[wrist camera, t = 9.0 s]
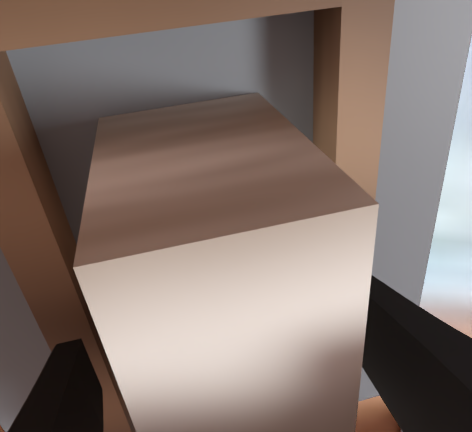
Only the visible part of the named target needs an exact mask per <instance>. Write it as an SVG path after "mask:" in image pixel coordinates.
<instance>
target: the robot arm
mask: <svg viewBox="0 0 472 432" xmlns="http://www.w3.org/2000/svg"><path fill="white" fill-rule="evenodd" d="M362 368H363V369H364V371H365V372H366V374H367V376H368V377H369V379H370V380H371V382H372V384H373V385H374V387H375V389H376V390H377V392H378V393H379V395H380V396H381V398H382V400H383V401H384V403H385V404H386V406H387V408H388V409H389V411H390V412H391V414H392V415H393V417H394V419H395V420H396V422H397V423H398V425H399V427H400V428H401V432H472V338H470V337H469V336H467V335H465V334H463V333H462V332H460V331H458V330H456V329H455V328H453V327H451V326H450V325H448V324H446V323H445V322H443V321H441V320H440V319H438V318H436V317H435V316H433V315H432V314H430V313H428V312H427V311H425V310H424V309H422V308H421V307H419V306H418V305H416V304H415V303H413V302H411V301H410V300H408V299H407V298H405V297H404V296H402V295H401V294H399V293H398V292H396V291H395V290H394V289H392V288H391V287H389V286H388V285H386V284H385V283H383V282H382V281H380V280H379V279H377V278H376V277H374V276H373V275H371V285H370V294H369V304H368V313H367V323H366V333H365V342H364V352H363V361H362ZM103 430H104V424H103V389H102V387H101V384H100V382H99V380H98V377H97V375H96V372H95V370H94V368H93V365H92V363H91V361H90V358H89V356H88V353H87V351H86V349H85V346H84V344H83V341H82V339H76V340H72V341H68V342H63V343H59V344H56V345H55V347H54V348H53V350H52V352H51V354H50V356H49V357H48V359H47V361H46V363H45V365H44V367H43V369H42V371H41V373H40V375H39V377H38V378H37V380H36V382H35V384H34V386H33V388H32V390H31V391H30V393H29V395H28V397H27V399H26V400H25V402H24V404H23V406H22V407H21V409H20V411H19V413H18V414H17V416H16V418H15V420H14V421H13V423H12V425H11V426H10V428H9V430H8V432H103Z"/></svg>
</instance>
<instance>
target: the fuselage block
mask: <svg viewBox="0 0 472 432" xmlns="http://www.w3.org/2000/svg"><path fill="white" fill-rule="evenodd" d="M378 208H379V203H377V202H376V201H375V200H374V199H373V198H372V197H371V196H370V195H369V194H368V193H367V192H366V191H364V190H363V189H362V188H361V187H360V186H359V185H358V184H357V183H356V182H355V181H354V180H353V179H351V178H350V177H349V176H348V175H347V174H346V173H345V172H344V171H343V170H342V169H341V168H340V167H338V166H337V165H336V164H335V163H334V162H333V161H332V160H331V159H330V158H329V157H328V156H326V155H325V154H324V153H323V152H322V151H321V150H320V149H319V148H318V147H317V146H316V145H315V144H313V143H312V142H311V141H310V140H309V139H308V138H307V137H306V136H305V135H304V134H303V133H302V132H300V131H299V130H298V129H297V128H296V127H295V126H294V125H293V124H292V123H291V122H290V121H289V120H287V119H286V118H285V117H284V116H283V115H282V114H281V113H280V112H279V111H278V110H277V109H276V108H274V107H273V106H272V105H271V104H270V103H269V102H268V101H267V100H266V99H265V98H264V97H263V96H261V95H260V94H259V93H252V94H246V95H240V96H233V97H227V98H221V99H214V100H208V101H202V102H196V103H189V104H183V105H177V106H170V107H164V108H158V109H152V110H145V111H139V112H133V113H126V114H120V115H114V116H108V117H101V118H99V120H98V126H97V132H96V137H95V143H94V149H93V155H92V161H91V166H90V172H89V178H88V184H87V190H86V195H85V201H84V207H83V213H82V219H81V224H80V230H79V236H78V242H77V247H76V253H75V259H74V265H73V269H74V271H75V274H76V277H77V279H78V282H79V284H80V287H81V290H82V292H83V295H84V297H85V300H86V303H87V305H88V308H89V310H90V313H91V316H92V318H93V321H94V323H95V326H96V329H97V331H98V334H99V336H100V339H101V342H102V344H103V347H104V349H105V352H106V355H107V357H108V360H109V362H110V365H111V368H112V370H113V373H114V375H115V378H116V381H117V383H118V386H119V388H120V391H121V394H122V396H123V399H124V401H125V404H126V407H127V409H128V412H129V414H130V417H131V419H132V422H133V425H134V427H135V430H136V432H355V428H356V419H357V409H358V400H359V390H360V381H361V371H362V361H363V352H364V342H365V333H366V323H367V313H368V304H369V294H370V285H371V275H372V266H373V256H374V246H375V237H376V227H377V218H378Z"/></svg>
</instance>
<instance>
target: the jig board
mask: <svg viewBox="0 0 472 432" xmlns="http://www.w3.org/2000/svg"><path fill="white" fill-rule="evenodd" d="M471 36H472V0H0V425H1V427H2V428H3V430H4V431H5V432H8V430H9V428H10V426H11V425H12V423H13V421H14V420H15V418H16V416H17V414H18V413H19V411H20V409H21V407H22V406H23V404H24V402H25V400H26V399H27V397H28V395H29V393H30V391H31V390H32V388H33V386H34V384H35V382H36V380H37V378H38V377H39V375H40V373H41V371H42V369H43V367H44V365H45V363H46V361H47V359H48V357H49V356H50V354H51V352H52V350H53V348H54V347H55V345H56V344H59V343H63V342H68V341H72V340H76V339H82V341H83V344H84V346H85V349H86V351H87V353H88V356H89V358H90V361H91V363H92V365H93V368H94V370H95V372H96V375H97V377H98V380H99V382H100V384H101V387H102V389H103V424H104V430H103V432H136V430H135V427H134V425H133V422H132V419H131V417H130V414H129V412H128V409H127V407H126V404H125V401H124V399H123V396H122V394H121V391H120V388H119V386H118V383H117V381H116V378H115V375H114V373H113V370H112V368H111V365H110V362H109V360H108V357H107V355H106V352H105V349H104V347H103V344H102V342H101V339H100V336H99V334H98V331H97V329H96V326H95V323H94V321H93V318H92V316H91V313H90V310H89V308H88V305H87V303H86V300H85V297H84V295H83V292H82V290H81V287H80V284H79V282H78V279H77V277H76V274H75V271H74V269H73V265H74V259H75V253H76V247H77V242H78V236H79V230H80V224H81V219H82V213H83V207H84V201H85V195H86V190H87V184H88V178H89V172H90V166H91V161H92V155H93V149H94V143H95V137H96V132H97V126H98V120H99V118H101V117H108V116H114V115H120V114H126V113H133V112H139V111H145V110H152V109H158V108H164V107H170V106H177V105H183V104H189V103H196V102H202V101H208V100H214V99H221V98H227V97H233V96H240V95H246V94H252V93H259V94H260V95H261V96H263V97H264V98H265V99H266V100H267V101H268V102H269V103H270V104H271V105H272V106H273V107H274V108H276V109H277V110H278V111H279V112H280V113H281V114H282V115H283V116H284V117H285V118H286V119H287V120H289V121H290V122H291V123H292V124H293V125H294V126H295V127H296V128H297V129H298V130H299V131H300V132H302V133H303V134H304V135H305V136H306V137H307V138H308V139H309V140H310V141H311V142H312V143H313V144H315V145H316V146H317V147H318V148H319V149H320V150H321V151H322V152H323V153H324V154H325V155H326V156H328V157H329V158H330V159H331V160H332V161H333V162H334V163H335V164H336V165H337V166H338V167H340V168H341V169H342V170H343V171H344V172H345V173H346V174H347V175H348V176H349V177H350V178H351V179H353V180H354V181H355V182H356V183H357V184H358V185H359V186H360V187H361V188H362V189H363V190H364V191H366V192H367V193H368V194H369V195H370V196H371V197H372V198H373V199H374V200H375V201H376V202H377V203H379V208H378V218H377V227H376V237H375V246H374V256H373V266H372V275H373V276H374V277H376V278H377V279H379V280H380V281H382V282H383V283H385V284H386V285H388V286H389V287H391V288H392V289H394V290H395V291H396V292H398V293H399V294H401V295H402V296H404V297H405V298H407V299H408V300H410V301H411V302H413V303H415V304H416V305H418V306H419V305H420V299H421V294H422V289H423V284H424V279H425V274H426V268H427V263H428V258H429V253H430V248H431V243H432V237H433V232H434V227H435V222H436V217H437V212H438V206H439V201H440V196H441V191H442V186H443V181H444V175H445V170H446V165H447V160H448V155H449V150H450V144H451V139H452V134H453V129H454V124H455V119H456V113H457V108H458V103H459V98H460V93H461V88H462V82H463V77H464V72H465V67H466V62H467V57H468V51H469V46H470V41H471ZM376 396H380V395H379V393H378V392H377V390H376V389H375V387H374V385H373V384H372V382H371V380H370V379H369V377H368V376H367V374H366V372H365V371H364V369H363V368H362V371H361V381H360V390H359V400H358V401H362V400H365V399H369V398H372V397H376Z"/></svg>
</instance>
